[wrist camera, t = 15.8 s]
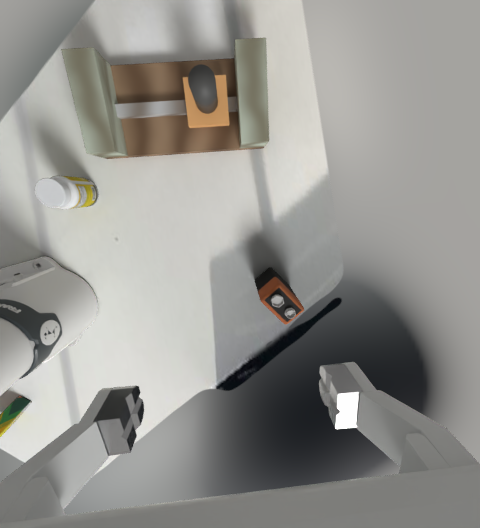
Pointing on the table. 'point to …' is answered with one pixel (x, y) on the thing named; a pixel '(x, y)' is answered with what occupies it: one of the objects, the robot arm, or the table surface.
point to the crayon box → (12, 413)
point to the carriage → (206, 98)
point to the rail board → (166, 104)
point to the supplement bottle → (66, 192)
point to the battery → (278, 296)
